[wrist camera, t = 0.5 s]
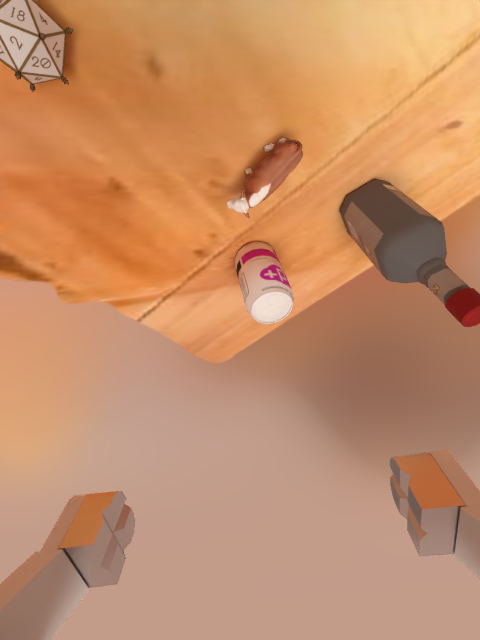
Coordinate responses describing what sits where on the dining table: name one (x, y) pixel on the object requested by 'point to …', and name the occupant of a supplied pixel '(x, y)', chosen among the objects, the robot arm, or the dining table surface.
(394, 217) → the liquor
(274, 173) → the bull figurine
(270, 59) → the dining table surface
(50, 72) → the game die
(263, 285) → the supplement can
